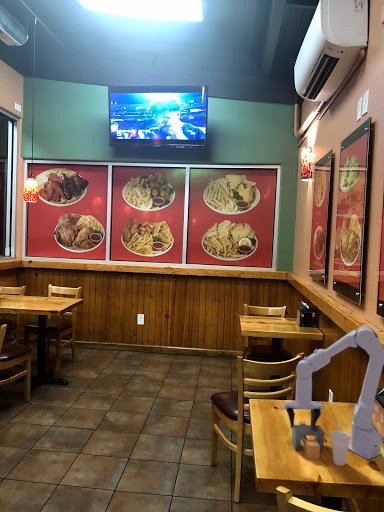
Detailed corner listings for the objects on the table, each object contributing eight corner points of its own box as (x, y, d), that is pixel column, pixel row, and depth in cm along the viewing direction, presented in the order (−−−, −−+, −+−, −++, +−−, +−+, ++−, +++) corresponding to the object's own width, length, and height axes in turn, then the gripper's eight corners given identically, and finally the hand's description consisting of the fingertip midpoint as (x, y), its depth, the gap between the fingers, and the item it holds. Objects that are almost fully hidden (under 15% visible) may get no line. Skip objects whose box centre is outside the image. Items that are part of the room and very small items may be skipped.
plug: (319, 458, 140) (320, 441, 139) (307, 458, 140) (308, 441, 139) (306, 436, 155) (307, 421, 155) (296, 436, 155) (296, 421, 155)
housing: (323, 451, 145) (324, 431, 144) (295, 450, 145) (295, 431, 144) (319, 444, 150) (319, 425, 149) (291, 443, 150) (292, 424, 149)
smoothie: (325, 459, 139) (326, 419, 138) (339, 456, 142) (341, 416, 141) (338, 469, 133) (340, 427, 133) (353, 465, 136) (355, 424, 135)
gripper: (319, 389, 157) (318, 423, 158) (282, 388, 157) (280, 422, 158) (325, 396, 150) (324, 432, 151) (286, 395, 150) (284, 431, 151)
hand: (302, 428), depth 154 cm, fingers open, 7 cm apart
